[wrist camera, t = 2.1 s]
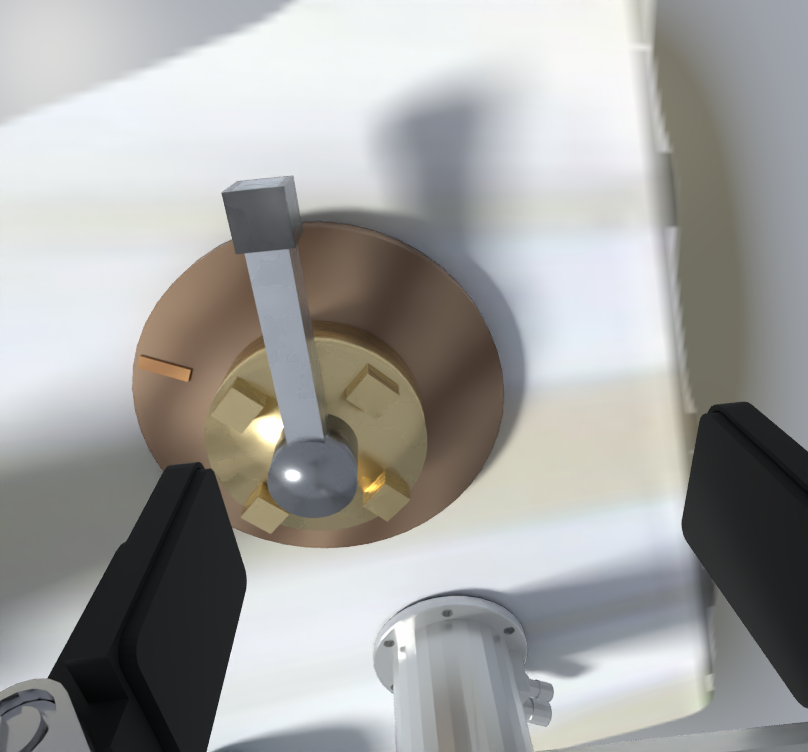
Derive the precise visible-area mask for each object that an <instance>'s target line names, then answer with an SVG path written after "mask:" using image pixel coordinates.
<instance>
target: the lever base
mask: <svg viewBox="0 0 808 752" xmlns="http://www.w3.org/2000/svg"><path fill="white" fill-rule="evenodd" d="M301 223H302V229H303V233H302V235H301V237H300V239H299V241H298V249H299V255H300V260H301V266H302V271H303V277H304V283H305V288H306V294H307V300H308V305H309V311H310V316H311V321H329V322H337V323H342V324H347V325H350V326H353V327H356V328H359V329H362V330H364V331H366V332H368V333H371V334H373V335H375V336H376V337H378V338H379V339H381V340H382V341H384V342H386V343H387V344H388V345H389V346H390V347H392V348H393V349H394V350H395V351H396V352H397V353H398V354H399V355H400V356H401V357H402V358H403V360H404V361H405V362H406V364H407V365H408V367H409V368H410V369H411V371H412V373H413V375H414V377H415V379H416V381H417V384H418V387H419V390H420V394H421V400H422V406H423V412H424V418H425V424H426V431H427V453H426V459H425V462H424V465H423V469H422V471H421V473H420V475H419V477H418V479H417V481H416V483H415V484H414V486H413V487H412V489H411V490H410V498H411V500H410V501H409V502H408V503H407V504H406V505H405V506H404V507H403V508H401V509H400V510H399V511H398V512H397V513H396V514H395V515H394V516H393V517H392V518H391V519H390V520H389V521H388V522H387V521H386V520H384V519H382V518H381V517H379V516H378V517H376V518H374V519H372V520H370V521H368V522H365V523H362V524H360V525H356V526H352V527H348V528H343V529H337V530H324V531H316V530H303V529H296V528H291V527H287V526H283V525H279V526H278V527H277V528H276V529H275V530H274V531H273V532H272V533H271V534H270V533H268V532H266V531H264V530H262V529H260V528H259V527H257V526H255V525H253V524H251V523H249V522H248V521H246V520H244V519H242V518H240V517H241V514H242V510H243V507H244V506H243V505H241V504H240V503H239V502H237V501H236V500H235V499H234V498H233V497H232V496H231V495H230V494H229V493H228V492H227V491H226V490H225V488H224V487H223V486H222V484H221V483H220V482H219V480H218V479H217V477H216V479H217V482H218V485H219V488H220V491H221V495H222V498H223V501H224V504H225V507H226V510H227V514H228V517H229V520H230V523H231V526H232V527H234V528H236V529H238V530H240V531H242V532H244V533H247V534H250V535H253V536H256V537H259V538H262V539H265V540H269V541H273V542H277V543H281V544H286V545H293V546H300V547H311V548H338V547H350V546H357V545H363V544H369V543H373V542H376V541H380V540H384V539H388V538H391V537H393V536H396V535H399V534H401V533H404V532H407V531H409V530H411V529H413V528H415V527H417V526H419V525H421V524H423V523H425V522H426V521H428V520H429V519H431V518H432V517H434V516H435V515H437V514H438V513H440V512H442V511H443V510H444V509H445V508H446V507H448V506H449V505H450V504H451V503H452V502H454V501H455V500H456V499H457V498H458V497H459V496H460V495H461V494H462V493H463V492H464V491H465V490H466V489H467V488H468V486H469V485H470V484H471V483H472V482H473V480H474V479H475V477H476V476H477V475H478V473H479V472H480V471H481V469H482V468H483V466H484V464H485V462H486V460H487V458H488V457H489V455H490V453H491V451H492V448H493V446H494V443H495V440H496V438H497V435H498V432H499V427H500V423H501V418H502V413H503V399H504V388H503V376H502V369H501V365H500V361H499V357H498V352H497V349H496V347H495V344H494V342H493V339H492V337H491V334H490V332H489V330H488V327H487V325H486V323H485V321H484V319H483V318H482V316H481V314H480V313H479V311H478V309H477V307H476V306H475V304H474V302H473V301H472V299H471V298H470V297H469V296H468V294H467V293H466V292H465V291H464V289H463V288H462V287H461V286H460V284H459V283H458V282H457V281H456V280H455V279H454V278H453V277H452V276H451V275H450V274H448V273H447V272H446V271H445V270H444V269H443V268H442V267H441V266H440V265H438V264H437V263H436V262H434V261H433V260H431V259H430V258H429V257H427V256H426V255H425V254H423V253H422V252H420V251H418V250H417V249H415V248H413V247H411V246H409V245H407V244H405V243H403V242H402V241H400V240H398V239H395V238H393V237H390V236H387V235H385V234H382V233H379V232H377V231H374V230H370V229H366V228H361V227H357V226H353V225H348V224H340V223H330V222H301ZM262 335H263V334H262V330H261V325H260V321H259V316H258V312H257V307H256V303H255V298H254V294H253V289H252V285H251V280H250V276H249V272H248V267H247V263H246V258H245V254H236V253H235V249H234V245H233V240H230V241H228V242H226V243H224V244H222V245H219V246H218V247H216V248H215V249H213V250H212V251H210V252H209V253H207V254H206V255H204V256H203V257H201V258H200V259H198V260H197V261H196V262H195V263H194V264H193V265H192V266H191V267H190V268H188V269H187V270H186V271H185V272H184V273H183V274H182V275H181V276H180V277H179V278H178V279H177V280H176V281H175V282H174V283H173V284H172V285H171V286H170V287H169V289H168V290H167V291H166V292H165V294H164V295H163V296H162V297H161V299H160V300H159V301H158V302H157V304H156V305H155V307H154V309H153V311H152V312H151V314H150V316H149V318H148V320H147V321H146V323H145V325H144V328H143V331H142V334H141V336H140V339H139V342H138V344H137V349H136V354H135V359H134V365H133V385H132V390H133V398H134V405H135V412H136V415H137V419H138V422H139V426H140V429H141V432H142V434H143V436H144V439H145V441H146V443H147V445H148V448H149V450H150V452H151V453H152V455H153V456H154V458H155V460H156V461H157V463H158V464H159V466H160V468H161V469H162V470H163V472H164V470H165V469H166V467H167V466H169V465H175V464H184V463H193V462H200V463H202V465H203V466H204V468H205V469H209V468H211V469H212V467H211V465H210V462H209V460H208V456H207V452H206V447H205V424H206V419H207V415H208V411H209V408H210V406H211V404H212V402H213V400H214V397H215V395H216V393H217V391H218V389H219V387H220V385H221V383H222V381H223V379H224V377H225V375H226V373H227V371H228V369H229V368H230V366H231V365H232V363H233V361H234V360H235V358H236V357H237V356H238V355H239V354H240V353H241V352H242V351H243V349H244V348H246V347H247V346H248V345H249V344H250V343H252V342H253V341H254V340H256V339H257V338H259V337H260V336H262ZM215 476H216V475H215Z"/></svg>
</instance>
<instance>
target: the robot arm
mask: <svg viewBox="0 0 808 752" xmlns="http://www.w3.org/2000/svg"><path fill="white" fill-rule="evenodd" d="M682 531H683V535H684V537H685V539H686V541H687V543H688V544H689V546H690V547H691V549H692V550H693V552H694V553H695V554H696V556H697V557H698V559H699V560H700V562H701V563H702V565H703V566H704V567H705V569H706V570H707V572H708V573H709V575H710V576H711V578H712V579H713V580H714V582H715V583H716V585H717V586H718V588H719V589H720V590H721V592H722V593H723V595H724V596H725V598H726V599H727V601H728V602H729V603H730V605H731V606H732V608H733V609H734V611H735V612H736V614H737V615H738V616H739V618H740V619H741V621H742V622H743V624H744V625H745V627H746V628H747V629H748V631H749V632H750V634H751V635H752V637H753V638H754V639H755V641H756V642H757V644H758V645H759V647H760V648H761V650H762V651H763V653H764V654H765V655H766V657H767V658H768V659H769V661H770V663H771V664H772V666H773V667H774V668H775V670H776V671H777V673H778V674H779V676H780V677H781V678H782V680H783V681H784V683H785V684H786V686H787V687H788V689H789V690H790V692H791V693H792V694H793V696H794V697H795V699H796V700H797V701H798V702H799V703H800V704H801V705H802V706H803V707H806V708H808V452H807V451H806V450H805V449H804V448H803V447H802V446H800V445H799V444H798V443H797V442H796V441H795V440H793V439H792V438H791V437H790V436H788V435H787V434H786V433H785V432H784V431H783V430H781V429H780V428H779V427H778V426H777V425H775V424H774V423H773V422H772V421H771V420H769V419H768V418H767V417H766V416H765V415H763V414H762V413H761V412H760V411H759V410H758V409H756V408H755V407H754V406H753V405H751V404H750V403H748V402H736V403H727V404H717V405H713V406H711V408H710V409H709V411H708V413H707V414H703V415H702V416H701V418H700V421H699V427H698V433H697V438H696V444H695V450H694V455H693V461H692V466H691V472H690V478H689V483H688V489H687V495H686V500H685V506H684V511H683V517H682ZM246 584H247V578H246V571H245V568H244V564H243V561H242V558H241V555H240V552H239V548H238V545H237V542H236V539H235V536H234V533H233V529H232V526H231V523H230V520H229V517H228V514H227V510H226V507H225V504H224V501H223V498H222V495H221V491H220V488H219V485H218V482H217V479H216V476H215V473H214V471H213V470H212V469H211V468H209V469H205V468H204V466H203V465H202V463H200V462H193V463H184V464H175V465H169V466H167V467H166V469H165V470H164V472H163V474H162V476H161V477H160V479H159V481H158V483H157V485H156V487H155V489H154V491H153V492H152V494H151V496H150V498H149V500H148V502H147V504H146V506H145V508H144V509H143V511H142V513H141V515H140V517H139V519H138V521H137V523H136V524H135V526H134V528H133V530H132V532H131V534H130V536H129V538H128V539H127V541H126V542H125V543H123V544H121V546H120V547H119V548H118V550H117V551H116V553H115V555H114V557H113V558H112V560H111V562H110V564H109V566H108V568H107V569H106V571H105V573H104V575H103V577H102V579H101V580H100V582H99V584H98V586H97V588H96V590H95V592H94V593H93V595H92V597H91V599H90V601H89V603H88V604H87V606H86V608H85V610H84V612H83V614H82V615H81V617H80V619H79V621H78V623H77V625H76V627H75V628H74V630H73V632H72V634H71V636H70V638H69V639H68V641H67V643H66V645H65V647H64V649H63V651H62V652H61V654H60V656H59V658H58V660H57V662H56V663H55V665H54V667H53V669H52V671H51V673H50V674H49V676H48V678H47V679H32V680H28V681H25V682H21V683H18V684H15V685H13V686H11V687H9V688H7V689H5V690H3V691H1V692H0V752H206V751H207V747H208V743H209V739H210V735H211V731H212V727H213V723H214V719H215V715H216V711H217V706H218V702H219V698H220V694H221V690H222V686H223V682H224V678H225V674H226V670H227V666H228V662H229V657H230V653H231V649H232V645H233V641H234V637H235V633H236V629H237V625H238V621H239V617H240V612H241V608H242V604H243V600H244V596H245V592H246ZM526 658H527V642H526V638H525V634H524V631H523V629H522V626H521V624H520V622H519V621H518V620H517V619H516V617H515V616H514V615H513V614H512V613H510V612H509V611H508V610H506V609H505V608H504V607H502V606H500V605H498V604H496V603H494V602H491V601H488V600H484V599H481V598H476V597H468V596H446V597H438V598H433V599H429V600H426V601H422V602H419V603H417V604H414V605H412V606H410V607H408V608H406V609H404V610H403V611H401V612H399V613H398V614H396V615H395V616H394V617H392V618H391V619H390V620H389V621H388V622H387V623H386V624H385V625H384V626H383V628H382V629H381V631H380V632H379V633H378V636H377V638H376V641H375V643H374V651H373V660H374V669H375V672H376V675H377V677H378V679H379V680H380V682H381V683H382V685H383V686H384V687H385V688H386V689H387V690H389V691H390V692H391V693H393V694H394V714H395V740H396V752H534V750H533V745H532V741H531V737H530V733H529V729H528V725H527V722H528V723H532V724H536V725H540V726H545V727H546V726H547V725H549V723H550V721H551V716H552V710H551V706H550V704H549V701H551V700H552V698H553V693H554V691H553V686H552V684H550V683H547V682H543V681H539V680H532V679H529V677H528V675H527V674H526V673H525V669H524V664H525V661H526ZM537 752H808V722H802V723H792V724H783V725H774V726H765V727H755V728H746V729H737V730H728V731H718V732H708V733H700V734H690V735H681V736H671V737H662V738H653V739H644V740H635V741H626V742H617V743H608V744H599V745H590V746H581V747H572V748H563V749H554V750H546V751H537Z"/></svg>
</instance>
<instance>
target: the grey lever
mask: <svg viewBox="0 0 808 752" xmlns="http://www.w3.org/2000/svg"><path fill="white" fill-rule="evenodd" d="M222 197H223V201H224V206H225V210H226V214H227V219H228V223H229V227H230V232H231V236H232V240H233V245H234V249H235V253H236V254H245V258H246V263H247V267H248V272H249V276H250V280H251V285H252V289H253V294H254V298H255V303H256V307H257V312H258V316H259V321H260V325H261V330H262V334H263V335H262V336H260V337H259V338H257V339H256V340H254V341H253V342H252V343H250V344H249V345H248V346H247V347H246V348H244V349H243V351H242V352H241V353H240V354H239V355H238V356H237V357H236V358H235V360H234V361H233V363H232V365H231V366H230V368H229V369H228V371H227V373H226V375H225V377H224V379H223V381H222V383H221V385H220V387H219V389H218V391H217V393H216V395H215V397H214V400H213V402H212V404H211V406H210V408H209V411H208V415H207V419H206V424H205V447H206V452H207V456H208V460H209V462H210V465H211V467H212V470H213V471H214V473H215V475H216V477H217V479H218V480H219V482H220V483H221V484H222V486H223V487H224V488H225V490H226V491H227V492H228V493H229V494H230V495H231V496H232V497H233V498H234V499H235V500H236V501H237V502H239V503H240V504H241V505H243V506H244V507H243V510H242V514H241V517H240V518H242V519H244V520H246V521H248V522H249V523H251V524H253V525H255V526H257V527H259V528H260V529H262V530H264V531H266V532H268V533H270V534H271V533H272V532H273V531H274V530H275V529H276V528H277V527H278V526H279V525H283V526H287V527H291V528H296V529H303V530H316V531H324V530H337V529H343V528H348V527H352V526H356V525H360V524H362V523H365V522H368V521H370V520H372V519H374V518H376V517H378V516H379V517H381V518H382V519H384V520H386V521H387V522H388V521H389V520H390V519H391V518H392V517H393V516H394V515H395V514H396V513H397V512H398V511H399V510H400V509H401V508H403V507H404V506H405V505H406V504H407V503H408V502H409V501H410V500H411V498H410V490H411V489H412V487H413V486H414V484H415V483H416V481H417V479H418V477H419V475H420V473H421V471H422V469H423V465H424V462H425V459H426V453H427V431H426V424H425V418H424V412H423V406H422V400H421V394H420V390H419V387H418V384H417V381H416V379H415V377H414V375H413V373H412V371H411V369H410V368H409V367H408V365H407V364H406V362H405V361H404V360H403V358H402V357H401V356H400V355H399V354H398V353H397V352H396V351H395V350H394V349H393V348H392V347H390V346H389V345H388V344H387V343H386V342H384V341H382V340H381V339H379V338H378V337H376V336H375V335H373V334H371V333H368V332H366V331H364V330H362V329H359V328H356V327H353V326H350V325H347V324H342V323H337V322H329V321H311V316H310V311H309V305H308V300H307V294H306V288H305V283H304V277H303V271H302V266H301V260H300V255H299V249H298V241H299V239H300V237H301V235H302V233H303V229H302V223H301V217H300V212H299V206H298V200H297V194H296V188H295V182H294V177H293V176H284V177H274V178H264V179H254V180H245V181H237V182H236V183H234V184H233V185H231V186H230V187H229V188H227V189H226V190H224V191H223V192H222Z"/></svg>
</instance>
